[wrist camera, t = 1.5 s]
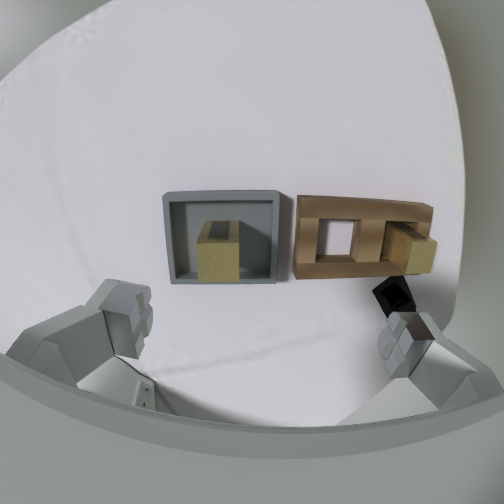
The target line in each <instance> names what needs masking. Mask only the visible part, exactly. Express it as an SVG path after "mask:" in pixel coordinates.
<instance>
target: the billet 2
mask: <svg viewBox="0 0 504 504" xmlns="http://www.w3.org/2000/svg"><path fill="white" fill-rule="evenodd" d="M436 246H437V241H435V240H433V239H432V238H430V237H429V236H427V235H425V234H424V233H422V232H420V231H419V230H417V229H415V228H413V227H412V226H410V225H408V224H407V223H405V222H388V221H386V223H385V230H384V236H383V242H382V248H381V253H382V254H383V255H384V256H386V257H387V258H388V259H389V260H390V261H391V262H392V263H394V264H395V265H396V266H397V267H398V268H399V269H400V270H401V271H402V272H404V273H405V274H418V273H430V271H431V267H432V263H433V259H434V255H435V251H436Z"/></svg>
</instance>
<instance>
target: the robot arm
mask: <svg viewBox="0 0 504 504" xmlns="http://www.w3.org/2000/svg"><path fill="white" fill-rule="evenodd" d="M150 299H151V289H150V288H149V286H145V285H140V284H135V283H130V282H125V281H119V280H114V279H105V280H104V282H103V283H102V284H101V285H100V287H99V288H98V289H97V290H96V292H95V293H94V294H93V295H92V297H91V298H90V299H89V300H88V302H87V303H86V304H85V306H82V305H80V306H77V307H75V308H73V309H70V310H68V311H66V312H64V313H61V314H59V315H57V316H55V317H52V318H50V319H48V320H46V321H43V322H41V323H39V324H37V325H34V326H32V327H30V328H28V329H26V330H24V331H23V332H22V333H21V334H20V336H19V337H18V338H17V340H16V341H15V342H14V343H13V345H12V346H11V347H10V349H9V350H8V351H7V353H6V354H5V355H4V354H2V353H0V504H504V389H503V388H502V386H501V384H500V383H499V381H498V379H497V378H496V376H495V374H494V373H493V371H492V369H491V368H490V367H488V366H487V365H485V364H484V363H483V362H481V361H480V360H478V359H477V358H475V357H474V356H472V355H471V354H470V353H468V352H467V351H465V350H464V349H462V348H461V347H459V346H458V345H457V344H455V343H454V342H452V341H451V340H449V339H448V340H446V339H445V337H444V335H443V334H442V332H441V331H440V329H439V328H438V326H437V325H436V323H435V322H434V321H433V319H432V318H431V316H430V315H429V314H428V313H426V312H392V313H391V314H390V315H389V317H388V319H387V324H388V326H387V327H386V328H385V329H383V330H382V332H381V334H380V336H379V340H378V350H379V353H380V355H381V356H382V357H383V358H384V359H385V360H386V362H385V364H384V365H385V367H386V370H387V372H388V375H389V377H390V378H404V377H409V379H410V380H411V381H412V382H413V383H414V384H415V385H416V386H417V387H418V388H419V390H421V391H422V392H423V394H425V396H426V397H427V398H428V399H429V400H430V401H431V402H432V403H433V404H434V405H435V406H436V407H437V408H438V409H439V410H438V411H434V412H429V413H425V414H420V415H415V416H410V417H405V418H400V419H393V420H386V421H379V422H372V423H363V424H353V425H341V426H322V427H271V426H253V425H240V424H230V423H221V422H213V421H206V420H199V419H193V418H187V417H181V416H176V415H171V414H166V413H161V412H157V411H156V402H155V385H154V382H153V381H151V380H150V379H148V378H146V377H144V376H142V375H140V374H138V373H137V372H136V371H135V370H133V369H132V368H131V367H130V366H129V365H127V364H126V363H125V362H123V361H122V360H120V359H118V358H116V357H114V354H115V355H120V356H124V357H129V358H134V359H139V357H140V354H141V352H142V350H143V347H144V339H143V338H145V337H147V336H148V335H149V333H150V331H151V328H152V323H153V308H152V307H151V306H150V304H149V301H150Z"/></svg>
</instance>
